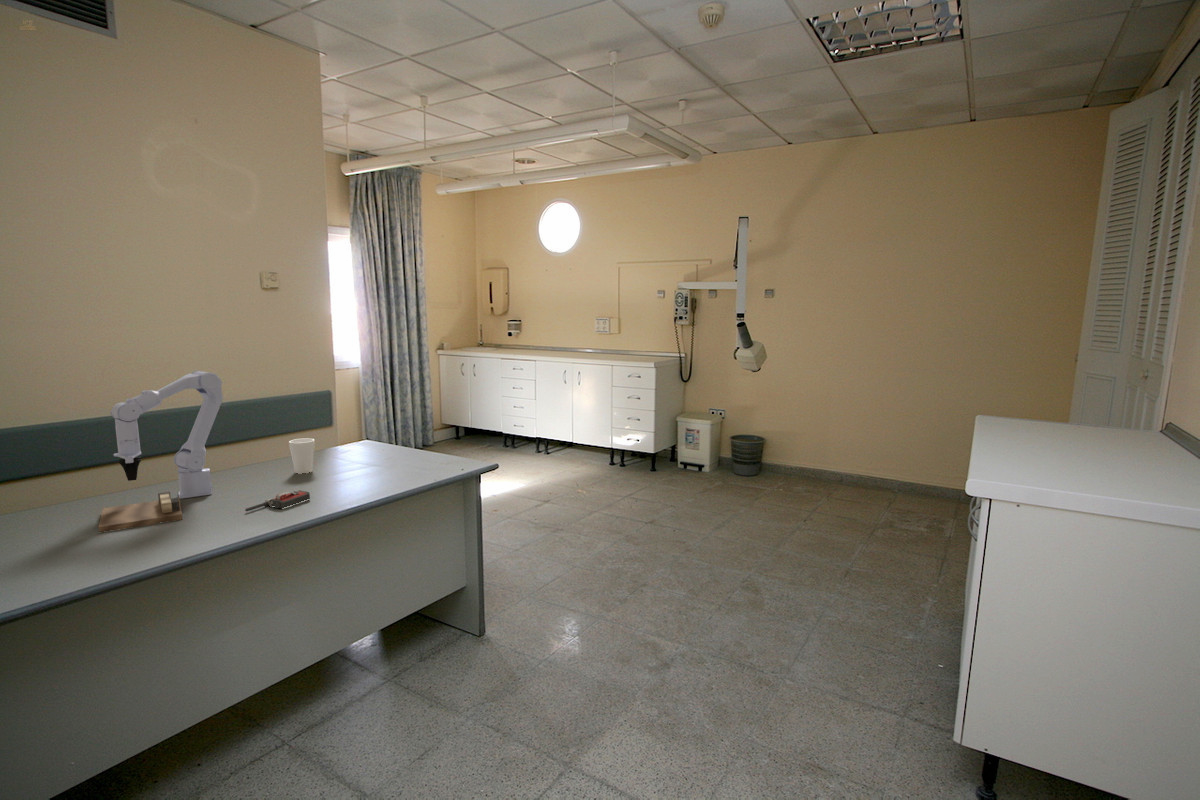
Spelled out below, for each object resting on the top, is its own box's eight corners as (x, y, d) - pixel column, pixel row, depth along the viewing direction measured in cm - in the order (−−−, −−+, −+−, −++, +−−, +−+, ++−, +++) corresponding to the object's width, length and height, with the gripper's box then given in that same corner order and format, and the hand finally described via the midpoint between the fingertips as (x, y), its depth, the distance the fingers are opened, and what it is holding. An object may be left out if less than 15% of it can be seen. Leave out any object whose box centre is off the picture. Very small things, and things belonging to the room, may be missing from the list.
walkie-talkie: (296, 496, 211) (243, 513, 192) (295, 484, 210) (242, 500, 192) (314, 499, 207) (262, 517, 189) (313, 487, 207) (261, 504, 188)
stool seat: (179, 502, 201) (178, 488, 200) (182, 519, 185) (181, 504, 184) (103, 513, 189) (101, 499, 188) (99, 532, 173) (97, 517, 172)
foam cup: (309, 475, 236) (307, 443, 234) (286, 474, 236) (284, 443, 234) (320, 468, 246) (319, 438, 244) (298, 468, 246) (296, 437, 244)
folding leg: (158, 501, 195) (157, 492, 195) (170, 499, 197) (169, 491, 197) (161, 513, 184) (160, 504, 184) (173, 511, 186) (172, 502, 186)
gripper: (113, 436, 195) (117, 476, 197) (111, 445, 184) (115, 487, 186) (140, 434, 199) (144, 473, 201) (139, 442, 188) (143, 483, 190)
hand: (132, 479), depth 194 cm, fingers closed
